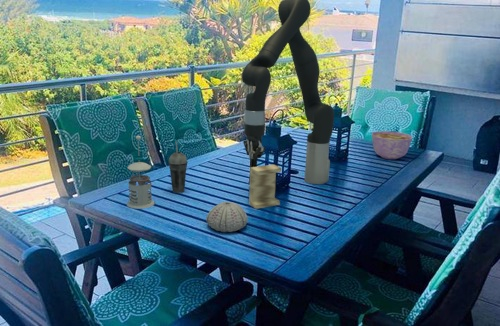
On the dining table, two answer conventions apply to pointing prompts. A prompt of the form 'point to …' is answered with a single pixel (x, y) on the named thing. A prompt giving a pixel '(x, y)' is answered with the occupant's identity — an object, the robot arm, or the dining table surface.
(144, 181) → the french press
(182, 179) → the beverage cup
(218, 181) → the dining table surface
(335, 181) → the dining table surface
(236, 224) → the sea urchin shell
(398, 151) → the bowl of food
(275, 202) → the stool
